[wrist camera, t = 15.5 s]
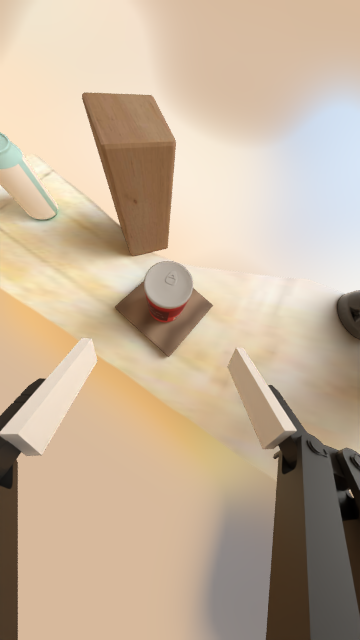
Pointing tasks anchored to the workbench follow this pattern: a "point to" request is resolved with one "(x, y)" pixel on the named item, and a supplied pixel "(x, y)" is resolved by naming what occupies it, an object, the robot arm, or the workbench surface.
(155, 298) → the canned food
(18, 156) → the can
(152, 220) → the wooden block
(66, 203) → the workbench surface
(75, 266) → the workbench surface
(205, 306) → the walnut board
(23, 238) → the workbench surface
